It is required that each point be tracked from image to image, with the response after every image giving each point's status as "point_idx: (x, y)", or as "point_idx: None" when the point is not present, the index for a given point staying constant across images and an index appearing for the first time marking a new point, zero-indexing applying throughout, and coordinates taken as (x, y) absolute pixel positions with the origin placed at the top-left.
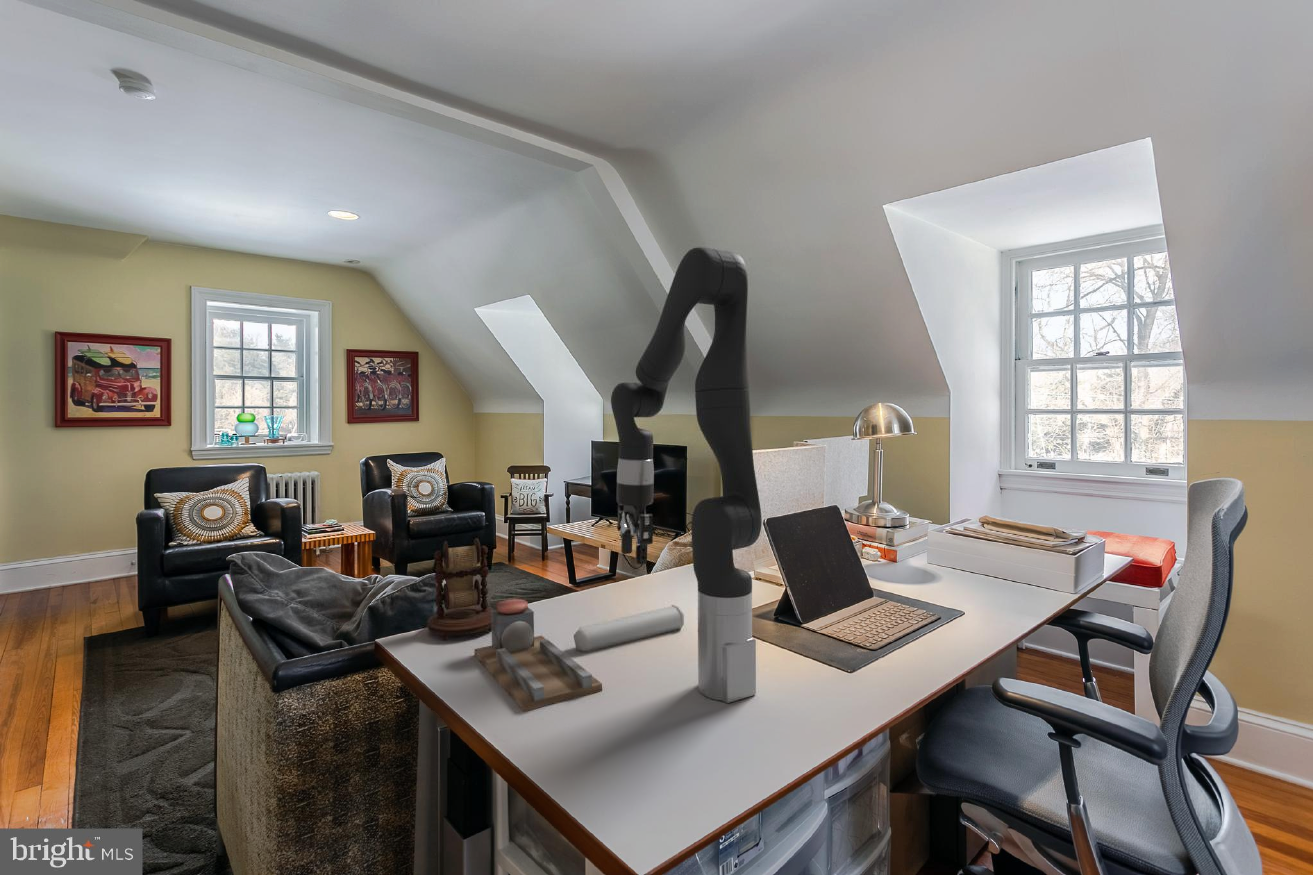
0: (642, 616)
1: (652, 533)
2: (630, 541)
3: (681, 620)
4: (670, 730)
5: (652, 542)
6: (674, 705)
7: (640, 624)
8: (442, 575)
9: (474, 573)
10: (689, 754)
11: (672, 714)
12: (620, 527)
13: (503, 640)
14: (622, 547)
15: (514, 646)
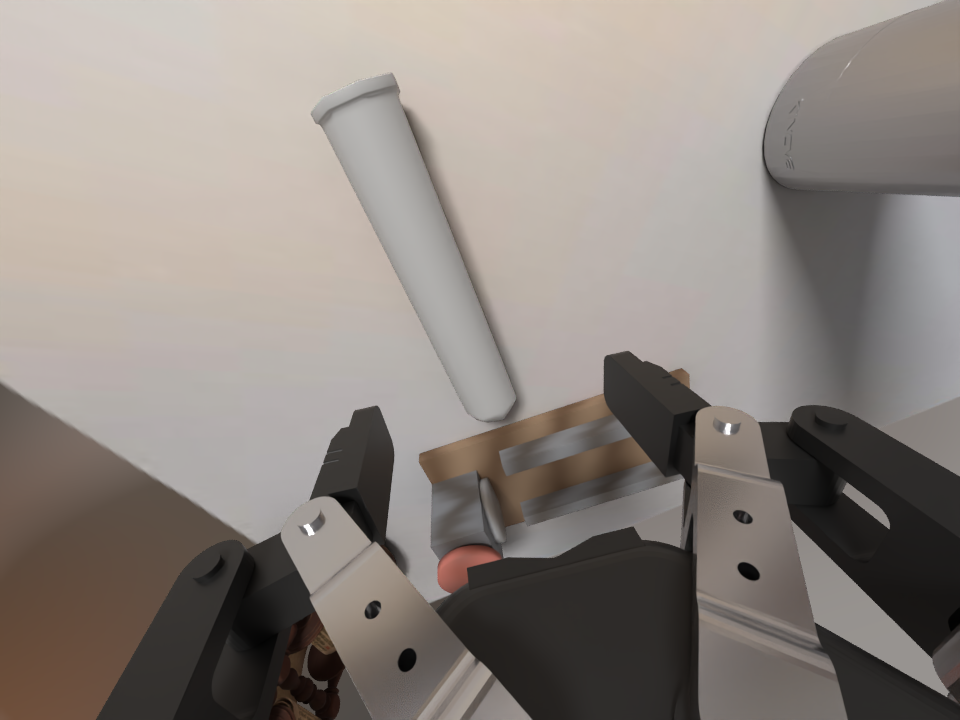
0: (436, 258)
1: (951, 474)
2: (367, 465)
3: (398, 90)
4: (867, 285)
5: (842, 412)
6: (805, 257)
7: (463, 267)
8: (333, 709)
9: (297, 677)
10: (939, 273)
11: (829, 269)
12: (282, 628)
13: (504, 526)
14: (390, 478)
15: (496, 501)
